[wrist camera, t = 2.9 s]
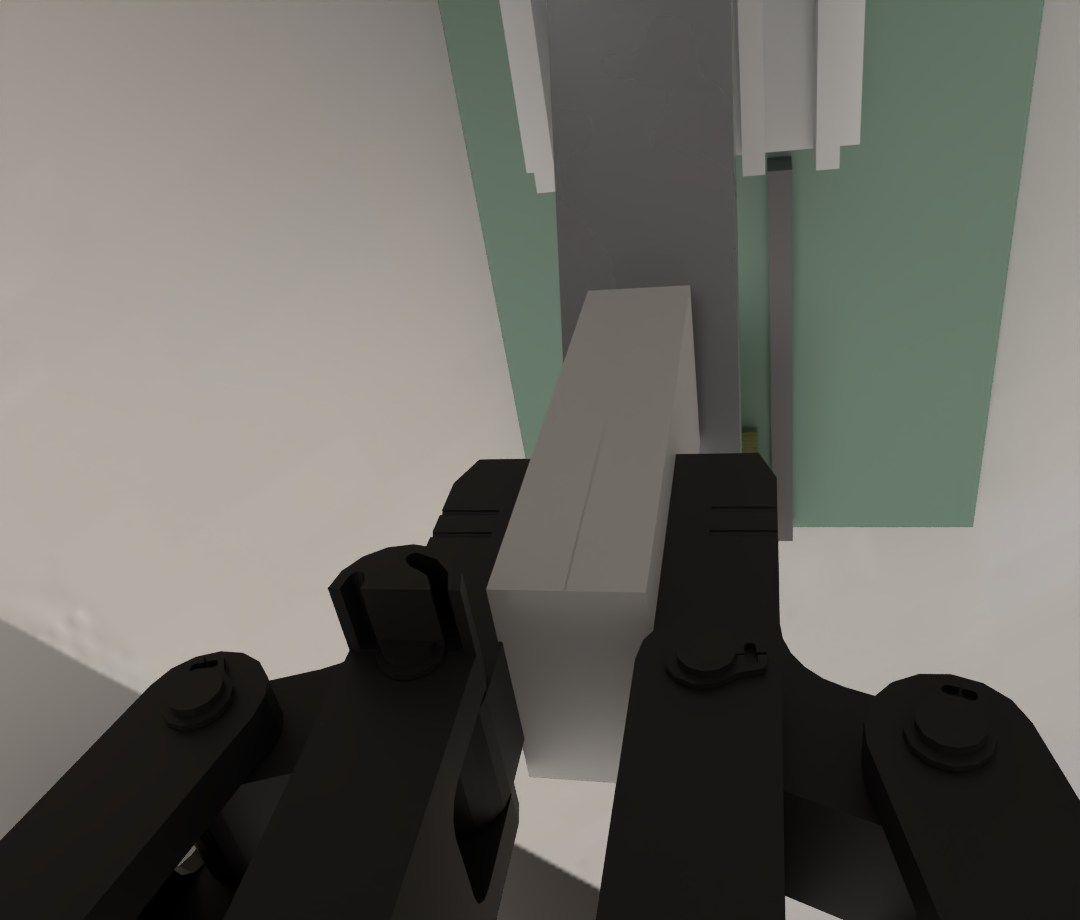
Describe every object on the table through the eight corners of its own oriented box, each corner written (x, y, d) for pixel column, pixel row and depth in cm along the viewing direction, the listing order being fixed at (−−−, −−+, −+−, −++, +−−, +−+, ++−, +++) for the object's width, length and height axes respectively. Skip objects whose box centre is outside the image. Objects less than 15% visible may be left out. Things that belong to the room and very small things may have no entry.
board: (321, -707, 18) (114, -922, 12) (1156, -974, 15) (1411, -1439, 9) (545, 505, 35) (500, 660, 29) (966, 503, 31) (1013, 677, 25)
